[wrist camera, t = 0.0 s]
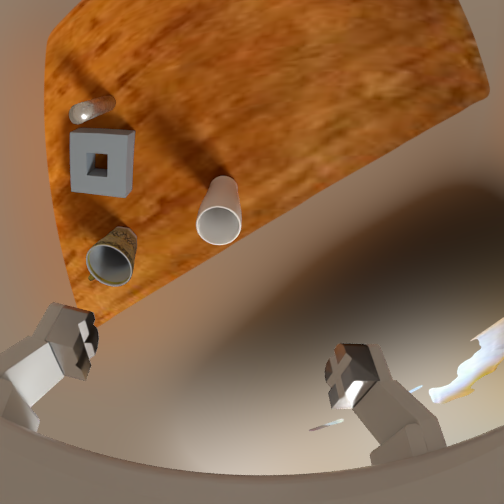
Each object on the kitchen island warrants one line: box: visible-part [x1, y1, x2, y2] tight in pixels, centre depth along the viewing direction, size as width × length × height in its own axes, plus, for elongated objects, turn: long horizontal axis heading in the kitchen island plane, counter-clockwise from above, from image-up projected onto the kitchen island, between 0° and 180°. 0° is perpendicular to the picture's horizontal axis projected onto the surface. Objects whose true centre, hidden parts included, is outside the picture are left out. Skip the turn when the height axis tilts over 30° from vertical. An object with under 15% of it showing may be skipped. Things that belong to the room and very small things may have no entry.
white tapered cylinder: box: [196, 176, 242, 245], centre depth 51 cm, size 7×7×15 cm
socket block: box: [70, 128, 135, 198], centre depth 51 cm, size 12×12×4 cm
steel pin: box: [69, 95, 116, 124], centre depth 41 cm, size 3×3×12 cm
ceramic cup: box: [86, 226, 137, 286], centre depth 59 cm, size 13×10×10 cm
